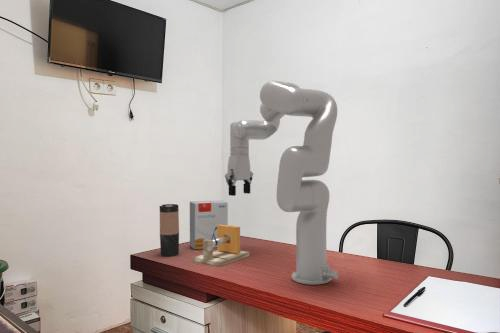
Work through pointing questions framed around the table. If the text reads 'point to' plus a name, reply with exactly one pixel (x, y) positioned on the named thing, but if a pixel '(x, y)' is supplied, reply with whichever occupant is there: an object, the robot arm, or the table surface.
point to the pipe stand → (218, 255)
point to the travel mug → (169, 230)
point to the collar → (234, 238)
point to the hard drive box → (206, 221)
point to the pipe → (221, 240)
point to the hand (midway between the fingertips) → (239, 194)
